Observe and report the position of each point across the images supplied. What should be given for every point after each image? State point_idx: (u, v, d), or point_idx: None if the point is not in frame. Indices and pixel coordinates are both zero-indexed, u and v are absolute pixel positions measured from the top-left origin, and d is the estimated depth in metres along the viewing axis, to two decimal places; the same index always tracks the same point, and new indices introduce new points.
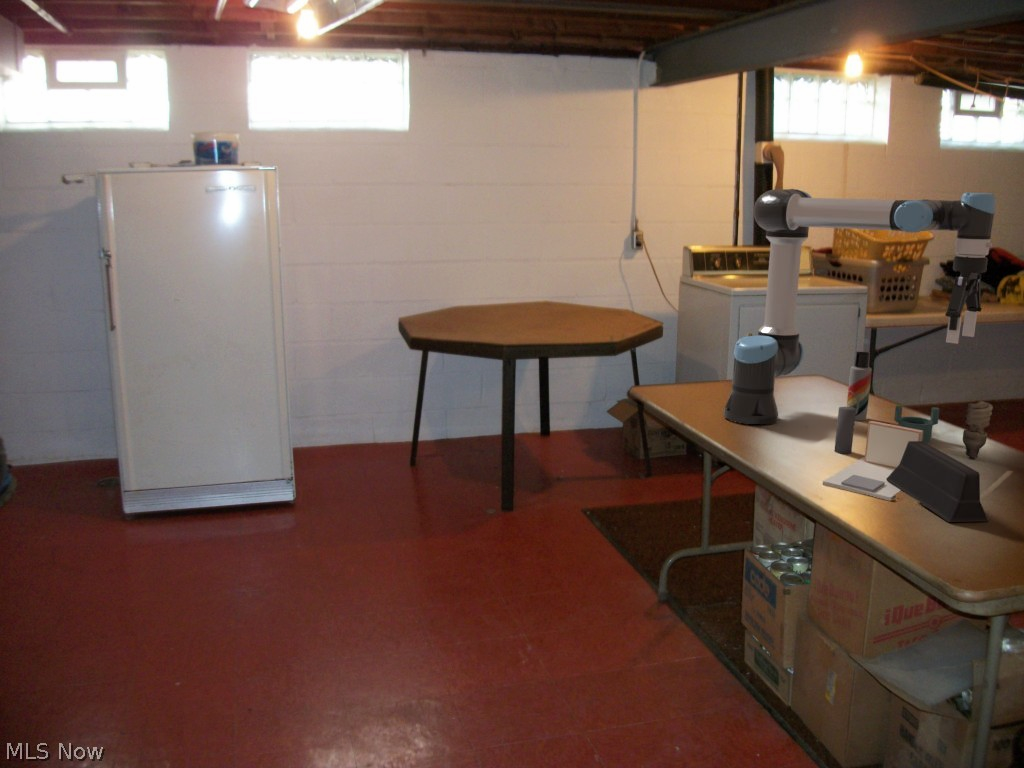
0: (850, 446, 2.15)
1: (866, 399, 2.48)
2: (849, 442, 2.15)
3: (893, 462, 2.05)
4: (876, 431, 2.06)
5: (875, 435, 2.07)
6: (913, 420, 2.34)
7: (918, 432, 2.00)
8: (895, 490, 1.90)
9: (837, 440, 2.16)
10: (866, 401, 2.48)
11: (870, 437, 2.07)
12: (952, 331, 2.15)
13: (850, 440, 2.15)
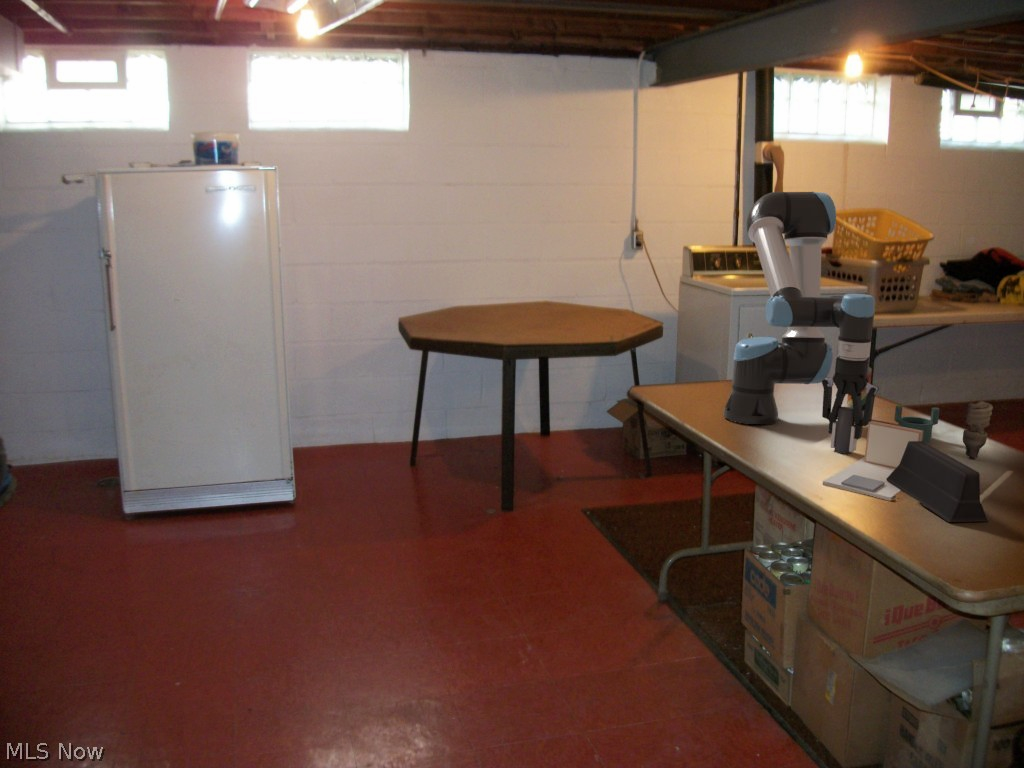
0: None
1: None
2: (849, 442, 2.15)
3: (893, 462, 2.05)
4: (876, 431, 2.06)
5: (875, 435, 2.07)
6: (913, 420, 2.34)
7: (918, 432, 2.00)
8: (895, 490, 1.90)
9: (837, 440, 2.16)
10: None
11: (870, 437, 2.07)
12: None
13: None
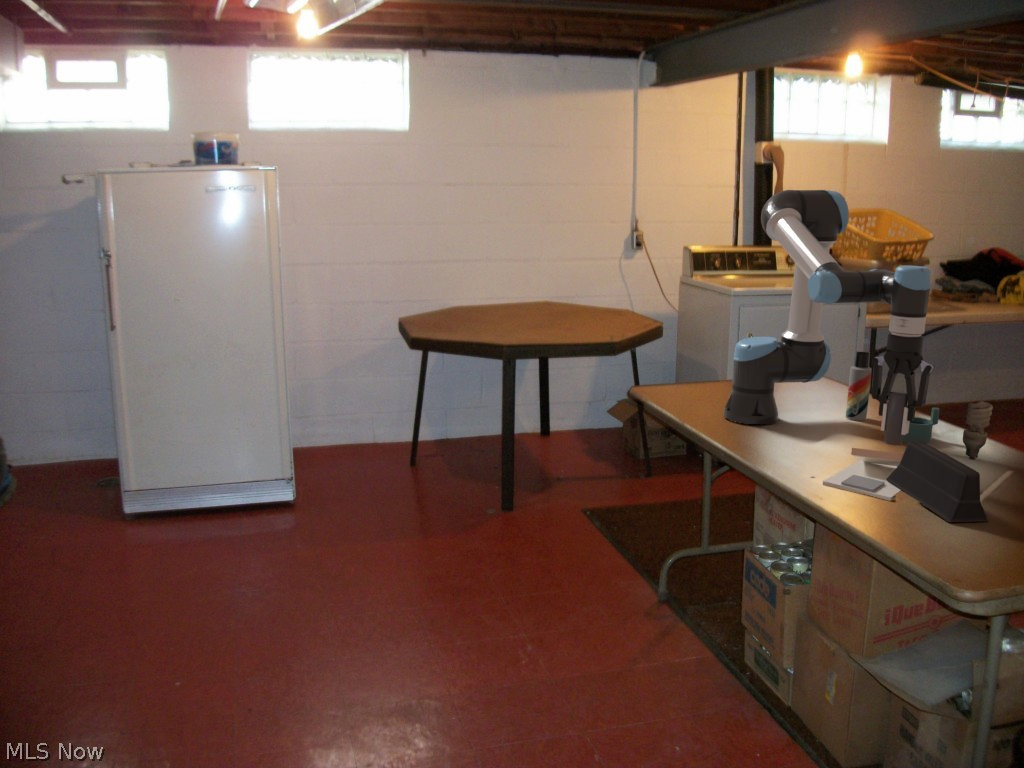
0: None
1: (866, 399, 2.48)
2: (901, 429, 2.02)
3: (891, 465, 2.04)
4: (862, 457, 2.02)
5: (863, 458, 2.03)
6: (913, 420, 2.34)
7: None
8: (895, 490, 1.90)
9: (888, 427, 2.03)
10: (866, 401, 2.48)
11: (859, 458, 2.04)
12: None
13: None
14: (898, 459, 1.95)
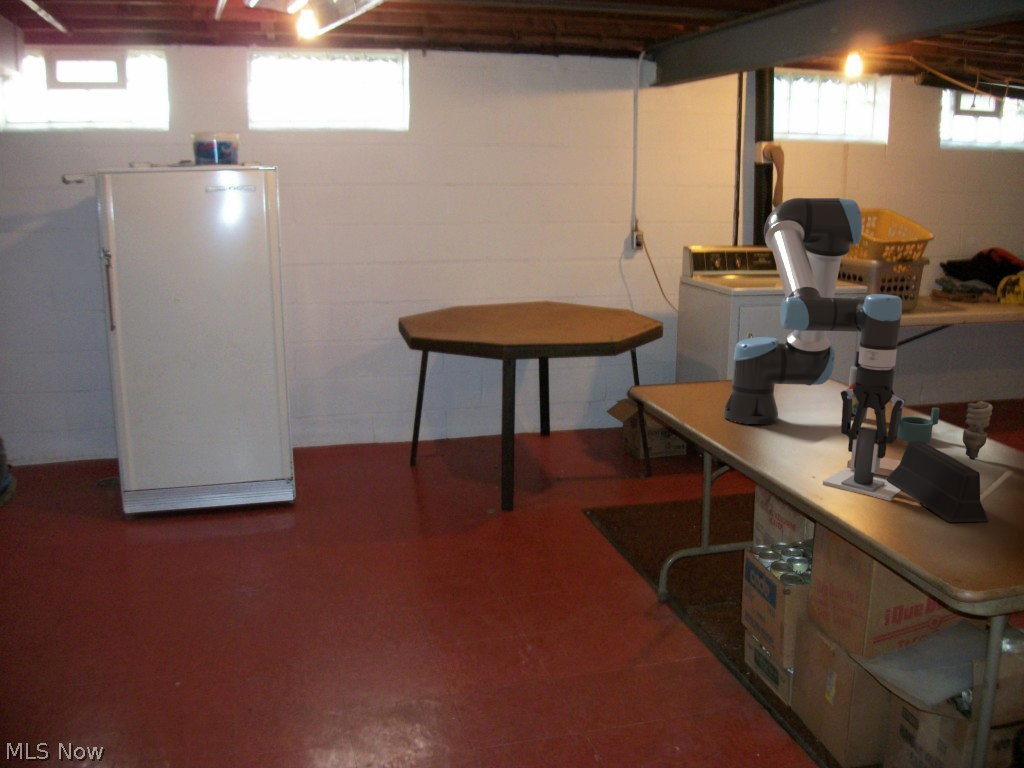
0: None
1: None
2: (871, 467, 1.91)
3: None
4: None
5: None
6: (913, 420, 2.34)
7: None
8: (895, 490, 1.90)
9: (857, 465, 1.92)
10: None
11: None
12: None
13: None
14: None
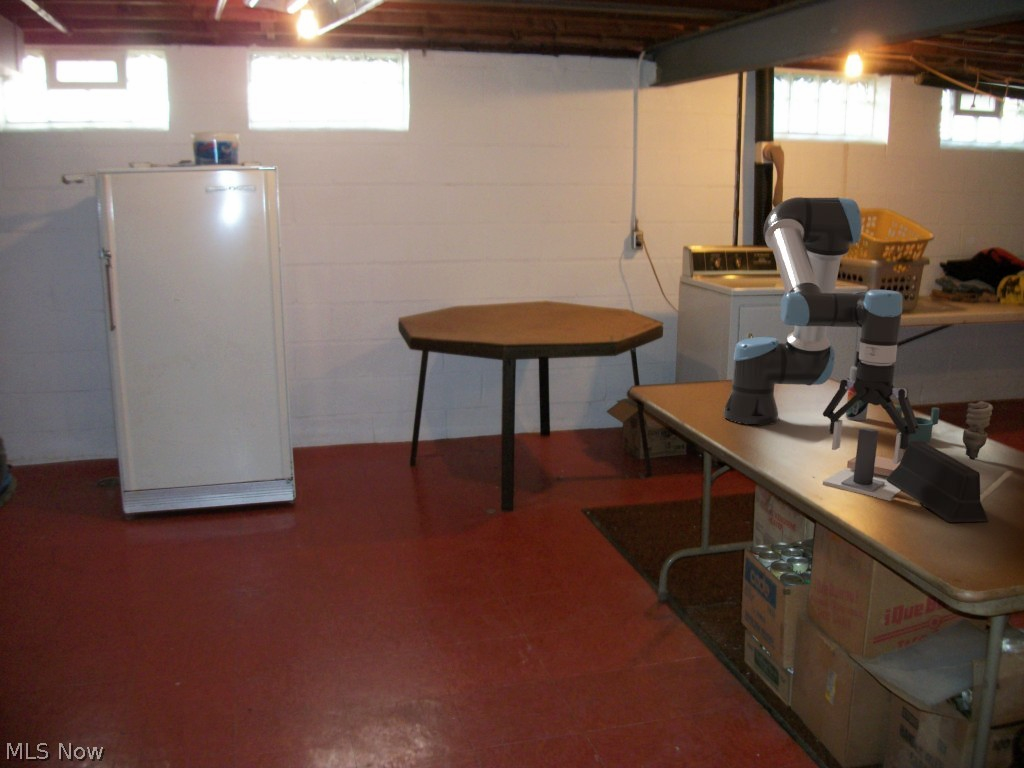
0: (872, 472, 1.91)
1: None
2: (871, 468, 1.91)
3: None
4: None
5: None
6: None
7: None
8: (895, 490, 1.90)
9: (857, 466, 1.92)
10: None
11: None
12: None
13: (872, 466, 1.91)
14: None
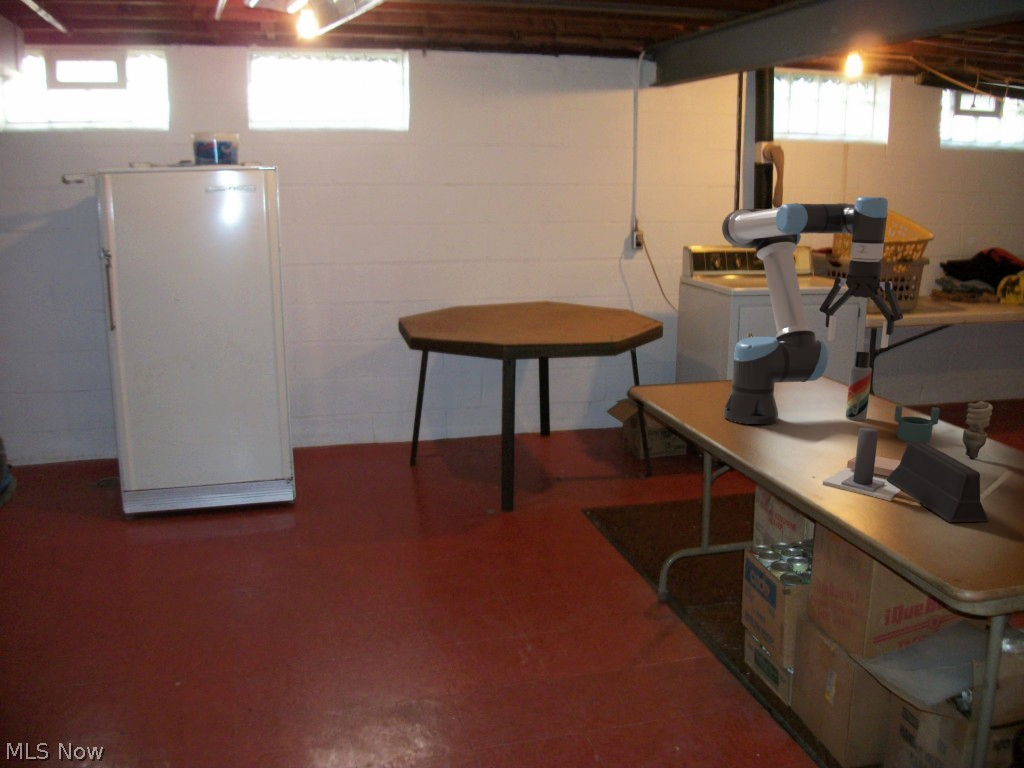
0: (871, 472, 1.91)
1: (866, 399, 2.48)
2: (870, 468, 1.91)
3: None
4: None
5: None
6: (913, 420, 2.34)
7: None
8: (895, 490, 1.90)
9: (857, 465, 1.92)
10: (866, 401, 2.48)
11: None
12: None
13: (871, 465, 1.91)
14: None
